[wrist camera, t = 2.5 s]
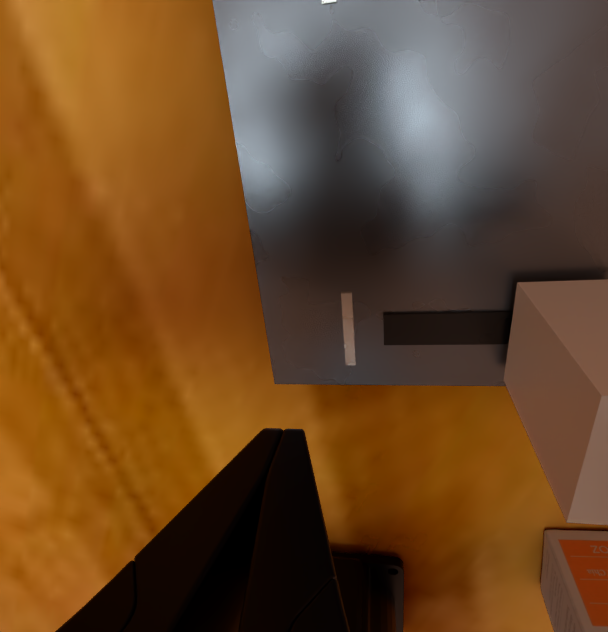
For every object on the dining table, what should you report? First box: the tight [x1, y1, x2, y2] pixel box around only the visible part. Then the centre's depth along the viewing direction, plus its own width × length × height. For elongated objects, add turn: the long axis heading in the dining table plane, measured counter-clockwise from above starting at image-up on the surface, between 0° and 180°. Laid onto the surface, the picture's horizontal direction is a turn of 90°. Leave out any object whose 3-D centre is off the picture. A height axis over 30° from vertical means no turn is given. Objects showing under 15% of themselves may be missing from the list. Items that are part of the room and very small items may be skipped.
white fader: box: [504, 279, 608, 525], centre depth 9 cm, size 3×2×5 cm
